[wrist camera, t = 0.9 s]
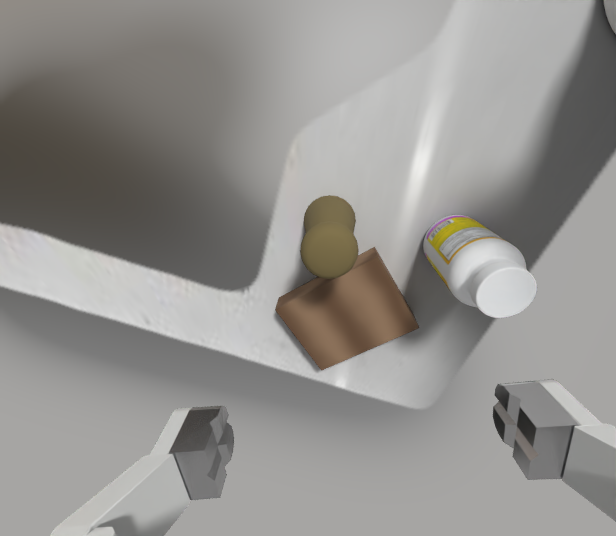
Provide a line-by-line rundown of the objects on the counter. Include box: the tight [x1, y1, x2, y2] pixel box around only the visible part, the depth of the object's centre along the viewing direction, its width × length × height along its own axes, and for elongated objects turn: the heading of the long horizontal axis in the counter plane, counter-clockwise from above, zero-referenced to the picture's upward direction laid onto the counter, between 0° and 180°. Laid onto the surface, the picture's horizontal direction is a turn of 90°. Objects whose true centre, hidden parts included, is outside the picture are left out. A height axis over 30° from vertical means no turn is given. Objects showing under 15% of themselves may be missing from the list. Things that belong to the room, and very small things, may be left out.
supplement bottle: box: [423, 215, 537, 318], centre depth 31 cm, size 7×7×13 cm
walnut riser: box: [275, 247, 419, 370], centre depth 40 cm, size 14×11×3 cm
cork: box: [300, 195, 358, 279], centre depth 32 cm, size 6×6×11 cm
